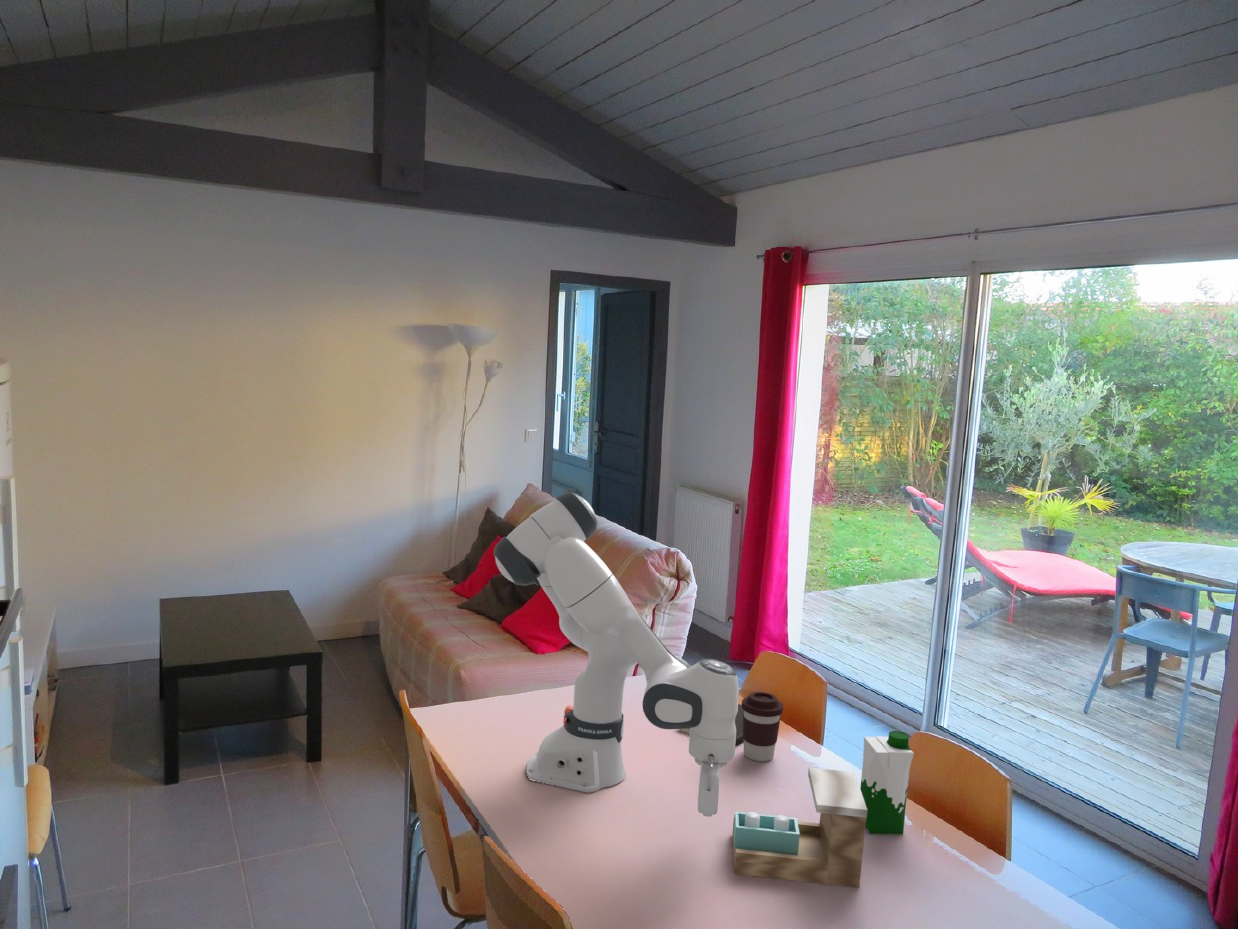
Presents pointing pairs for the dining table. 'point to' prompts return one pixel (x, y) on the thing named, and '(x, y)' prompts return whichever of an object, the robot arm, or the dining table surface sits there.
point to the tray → (766, 833)
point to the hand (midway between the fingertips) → (707, 813)
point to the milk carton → (886, 782)
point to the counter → (819, 837)
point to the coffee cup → (761, 725)
